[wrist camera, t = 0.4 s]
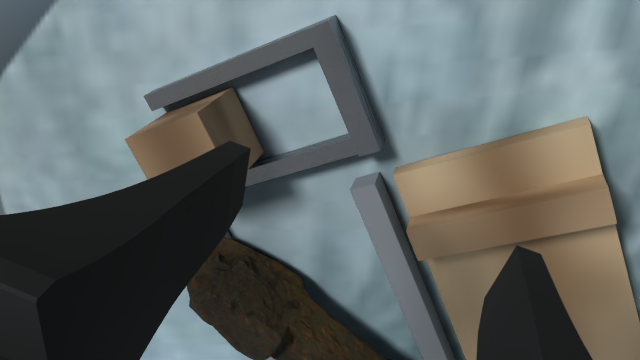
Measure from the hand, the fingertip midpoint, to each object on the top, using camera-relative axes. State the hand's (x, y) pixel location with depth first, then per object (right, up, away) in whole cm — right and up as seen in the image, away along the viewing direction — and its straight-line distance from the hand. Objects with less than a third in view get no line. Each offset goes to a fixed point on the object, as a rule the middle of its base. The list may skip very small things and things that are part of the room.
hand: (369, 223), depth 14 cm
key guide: (-4, +4, +11) cm, 13 cm away
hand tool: (0, -8, +15) cm, 17 cm away
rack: (+9, -5, +12) cm, 16 cm away
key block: (-6, +4, +12) cm, 14 cm away
